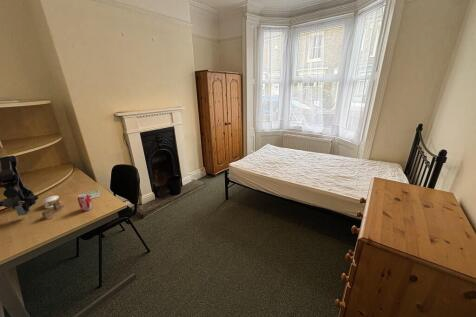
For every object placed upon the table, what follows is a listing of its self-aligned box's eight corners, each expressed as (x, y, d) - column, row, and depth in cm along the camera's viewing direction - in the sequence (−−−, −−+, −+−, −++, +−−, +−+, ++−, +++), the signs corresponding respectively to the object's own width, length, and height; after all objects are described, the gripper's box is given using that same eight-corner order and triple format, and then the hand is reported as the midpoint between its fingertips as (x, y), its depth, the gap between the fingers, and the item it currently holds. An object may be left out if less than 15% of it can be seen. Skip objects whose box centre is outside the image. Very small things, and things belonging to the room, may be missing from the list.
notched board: (40, 220, 131) (37, 213, 129) (55, 207, 145) (53, 200, 143) (51, 219, 132) (48, 212, 130) (65, 205, 147) (62, 199, 145)
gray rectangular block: (18, 215, 129) (14, 206, 127) (23, 212, 133) (19, 203, 130) (25, 214, 130) (21, 205, 128) (30, 211, 134) (26, 202, 131)
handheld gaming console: (84, 199, 152) (84, 192, 164) (85, 201, 153) (84, 194, 164) (99, 195, 158) (98, 188, 169) (100, 197, 159) (98, 190, 170)
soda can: (95, 207, 144) (90, 193, 140) (84, 213, 138) (80, 198, 134) (89, 205, 147) (85, 191, 143) (79, 210, 141) (74, 196, 137)
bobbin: (42, 209, 143) (39, 202, 141) (50, 202, 151) (47, 196, 149) (56, 207, 145) (53, 201, 143) (63, 201, 153) (61, 194, 151)
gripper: (-16, 199, 116) (-5, 221, 122) (21, 195, 120) (31, 216, 126) (0, 190, 126) (10, 210, 132) (34, 187, 130) (43, 207, 136)
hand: (23, 211), depth 131 cm, fingers closed on gray rectangular block, 4 cm apart
